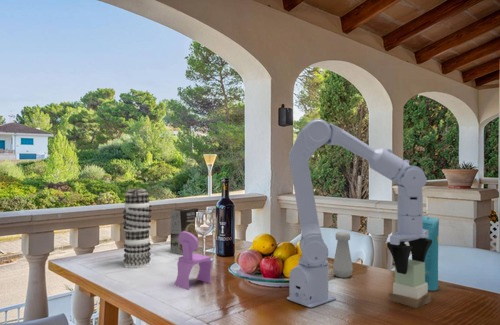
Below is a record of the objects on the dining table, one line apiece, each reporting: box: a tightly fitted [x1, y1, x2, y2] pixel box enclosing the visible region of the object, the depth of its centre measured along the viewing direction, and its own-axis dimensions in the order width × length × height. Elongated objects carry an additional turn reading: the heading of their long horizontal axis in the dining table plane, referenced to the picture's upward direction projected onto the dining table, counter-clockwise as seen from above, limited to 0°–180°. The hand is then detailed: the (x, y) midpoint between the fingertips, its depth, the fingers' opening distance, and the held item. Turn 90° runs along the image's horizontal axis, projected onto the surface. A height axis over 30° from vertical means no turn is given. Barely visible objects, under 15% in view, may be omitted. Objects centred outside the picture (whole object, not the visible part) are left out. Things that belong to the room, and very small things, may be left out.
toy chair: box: [173, 231, 213, 291], centre depth 114 cm, size 8×9×15 cm
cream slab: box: [392, 281, 429, 299], centre depth 99 cm, size 6×6×2 cm
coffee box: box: [170, 207, 199, 255], centre depth 155 cm, size 9×6×16 cm
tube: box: [423, 215, 440, 291], centre depth 109 cm, size 7×5×19 cm, turn 26°
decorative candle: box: [122, 188, 153, 268], centre depth 135 cm, size 9×9×25 cm
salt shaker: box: [332, 231, 354, 279], centre depth 121 cm, size 6×6×13 cm
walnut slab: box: [388, 290, 432, 309], centre depth 100 cm, size 7×7×2 cm
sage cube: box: [394, 259, 425, 287], centre depth 100 cm, size 5×5×5 cm
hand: (409, 270), depth 100 cm, fingers open, 7 cm apart
